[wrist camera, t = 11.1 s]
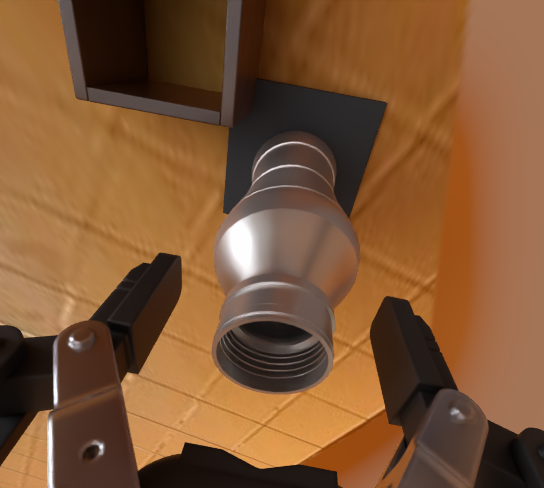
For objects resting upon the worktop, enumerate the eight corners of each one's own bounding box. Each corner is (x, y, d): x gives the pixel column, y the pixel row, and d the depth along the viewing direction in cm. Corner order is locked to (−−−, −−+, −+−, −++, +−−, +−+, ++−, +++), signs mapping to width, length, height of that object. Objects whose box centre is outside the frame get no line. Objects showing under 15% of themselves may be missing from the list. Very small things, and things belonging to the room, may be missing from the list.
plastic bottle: (247, 136, 25) (119, 293, 8) (327, 114, 23) (378, 252, 7) (267, 205, 28) (207, 422, 11) (340, 189, 27) (395, 415, 10)
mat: (234, 74, 23) (233, 74, 23) (385, 102, 23) (387, 103, 23) (224, 210, 30) (222, 213, 29) (342, 232, 30) (343, 235, 29)
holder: (125, -97, 19) (23, -186, 12) (274, -70, 19) (254, -144, 12) (139, 88, 24) (75, 98, 18) (253, 109, 24) (232, 128, 18)
